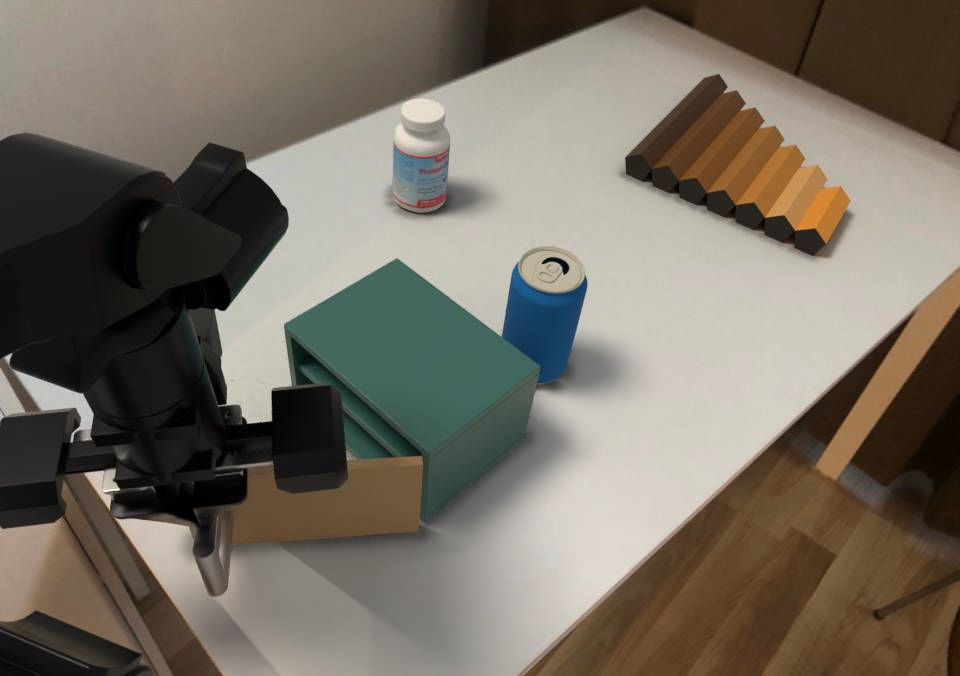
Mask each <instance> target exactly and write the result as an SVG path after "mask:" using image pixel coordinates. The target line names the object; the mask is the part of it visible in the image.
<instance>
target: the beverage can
mask: <svg viewBox="0 0 960 676" xmlns="http://www.w3.org/2000/svg"><path fill="white" fill-rule="evenodd" d="M588 285H589V284H588V278H587V275H586V268H585V265H584V263H583V262H582V260H581V259H580V258H579V257H578V256H577V255H576V254H574V253H573V252H571V251H569V250H567V249H565V248H561V247H559V246H558V247H557V246H551V245H542V246H536V247H533V248H530V249H529V250H527V251H525V252H524V253H523V254H522V255H521V257H520V258H519V261H518V262H517V263H516V264H515V265H514V267H513V268H512V272H511V276H510V282H509V287H508V295H507V301H506V307H505V314H504V318H503V319H504V320H503V326H502V332H501V337H502V338H504V339H505V340H506V341H508V342H509V343H510V344H512V345H513V346H514V347H516V348H517V349H518V350H520V351H521V352H522V353H524V354H525V355H526V356H528V357H529V358H530V359H532V360H533V361H534V362H536V363H537V364H538V365H540V372H539V377H538V381H537V385H543V384H544V385H545V384H548V383H552V382H554V381H556V380H558V379H559V378H560V377H562V375H564V373H565V372H566V370H567V368H568V364H569V361H570V357H571V353H572V349H573V345H574V341H575V337H576V334H577V330H578V326H579V322H580V319H581V314H582V310H583V306H584V302H585V299H586V295H587V291H588Z"/></svg>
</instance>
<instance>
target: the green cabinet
mask: <svg viewBox="0 0 960 676" xmlns="http://www.w3.org/2000/svg"><path fill="white" fill-rule="evenodd" d="M283 329H284V338H285V346H286V353H287V360H288V369H289V375H290V383H291V386H297V385H308V384H318V383H328V382H331V383H332V384H333V385H334V386H335V387H337V388H338V389H339V390H340V391H341V398H342V408H343V420H344V432H345V444H346V451H348V452H349V454H351V455H352V456H353V458H355V460H359V459H376V458H394V457H411V456H422V459H423V473H422V489H421V504H420V521H422V522H423V523H426V522H428V520H430V519H431V518H433V516H435V515H436V514H437V513H438V512H439V511H441V510H443V508H444V507H445V506H446V505H447V504H449V503H450V502H451V501H453V500H454V499H455V498H456V497H458V496H459V494H460V493H462V492H463V491H464V490H465V489H467V488H468V487H469V486H470V485H471V484H473V482H475V481H476V480H477V479H478V478H480V477H481V476H482V475H483V474H484V473H486V472H487V471H488V470H489V469H491V467H493V466H494V465H495V464H496V463H498V462H499V461H500V460H501V459H502V458H503V457H504V456H505V455H507V454H508V453H509V452H510V451H512V450H513V449H515V447H516V446H517V445H519V444H520V443H521V442H522V441H524V439H526V435H527V431H528V426H529V421H530V418H531V412H532V407H533V404H534V400H535V399H534V398H535V394H536V389H537V385H538V384H537V381H538V377H539V372H540V365H538V364H537V363H536V362H534V361H533V360H532V359H530V358H529V357H528V356H526V355H525V354H524V353H522V352H521V351H520V350H518V349H517V348H516V347H514V346H513V345H512V344H510V343H509V342H508V341H506V340H505V339H504V338H502V335H500V334H499V333H497V332H496V331H494V330H493V329H492V328H490V327H489V326H488V325H486V324H485V323H484V322H483V321H481V320H480V319H479V318H478V317H476V316H475V315H473V314H472V313H471V312H469V311H468V310H467V309H465V308H464V307H463V306H461V305H460V304H459V303H458V302H456V301H455V300H453V299H452V298H451V297H450V296H448V295H447V294H446V293H444V292H443V291H442V290H440V289H439V288H438V287H437V286H435V285H434V284H432V283H431V282H429V281H428V280H427V279H426V278H424V277H423V276H422V275H420V274H419V273H417V272H416V271H415V270H414V269H413V268H411V267H410V266H408V265H407V264H406V263H404V262H403V261H402V260H401V259H399V257H396V258H394V259H393V260H391V261H389V262H387V263H386V264H384V265H383V266H381V267H379V268H377V269H376V270H374V271H371V272H370V273H369V274H367V275H365V276H364V277H362V278H360V279H359V280H357V281H355V282H353V283H352V284H350V285H348V286H346V287H345V288H342V289H341V290H339V291H338V292H336V293H335V294H333V295H331V296H329V297H327V298H326V299H324V300H322V301H321V302H319V303H317V304H316V305H315V306H313V307H311V308H309V309H307V310H306V311H303V312H302V313H299V315H297V316H295V317H293V318H291V319H290V320H288V321H287V322H285V323H283Z"/></svg>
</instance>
